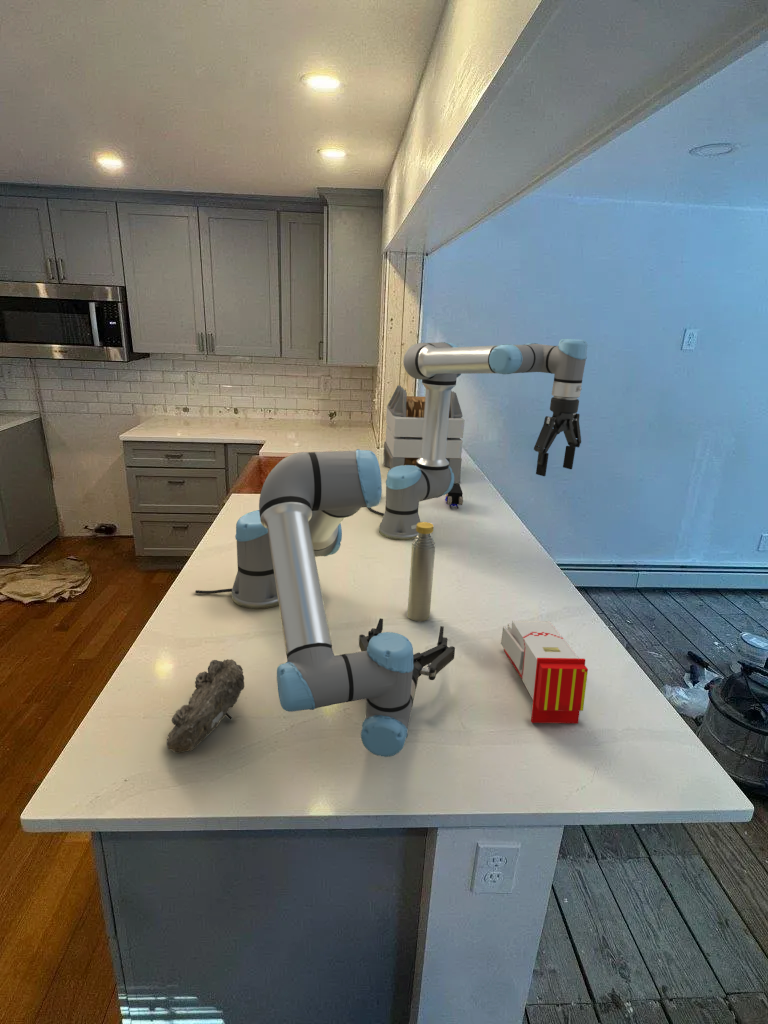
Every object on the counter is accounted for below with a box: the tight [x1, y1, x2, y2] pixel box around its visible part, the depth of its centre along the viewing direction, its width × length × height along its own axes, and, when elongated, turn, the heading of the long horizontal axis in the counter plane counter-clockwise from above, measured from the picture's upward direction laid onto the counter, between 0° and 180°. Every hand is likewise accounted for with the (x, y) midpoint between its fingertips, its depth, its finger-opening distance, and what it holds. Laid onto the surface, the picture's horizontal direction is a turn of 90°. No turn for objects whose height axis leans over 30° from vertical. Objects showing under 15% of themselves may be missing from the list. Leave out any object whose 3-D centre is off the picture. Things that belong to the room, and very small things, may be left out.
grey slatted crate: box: [383, 384, 465, 484], centre depth 268 cm, size 34×33×41 cm
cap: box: [416, 521, 434, 535], centre depth 139 cm, size 4×4×2 cm
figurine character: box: [444, 483, 464, 510], centre depth 231 cm, size 7×8×15 cm
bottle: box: [407, 533, 436, 622], centre depth 143 cm, size 6×6×25 cm
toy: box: [500, 620, 589, 724], centre depth 121 cm, size 12×13×30 cm
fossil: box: [166, 658, 245, 754], centre depth 106 cm, size 22×10×15 cm
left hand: (411, 627), depth 126 cm, fingers open, 13 cm apart
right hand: (554, 471), depth 164 cm, fingers open, 13 cm apart
